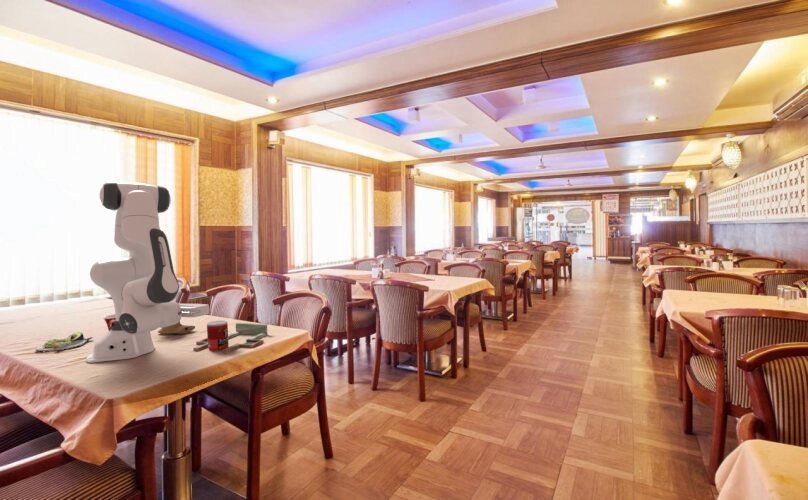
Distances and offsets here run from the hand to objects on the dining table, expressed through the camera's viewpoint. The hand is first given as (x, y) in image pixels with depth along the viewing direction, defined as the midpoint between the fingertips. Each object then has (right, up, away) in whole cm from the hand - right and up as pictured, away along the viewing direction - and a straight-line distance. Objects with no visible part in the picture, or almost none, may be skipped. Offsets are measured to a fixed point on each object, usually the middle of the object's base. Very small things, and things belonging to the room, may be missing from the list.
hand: (197, 305), depth 155 cm
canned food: (+3, -20, +11) cm, 23 cm away
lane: (+5, -19, +19) cm, 28 cm away
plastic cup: (-51, -20, +28) cm, 62 cm away
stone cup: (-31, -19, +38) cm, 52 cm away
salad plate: (-70, -21, +21) cm, 76 cm away
